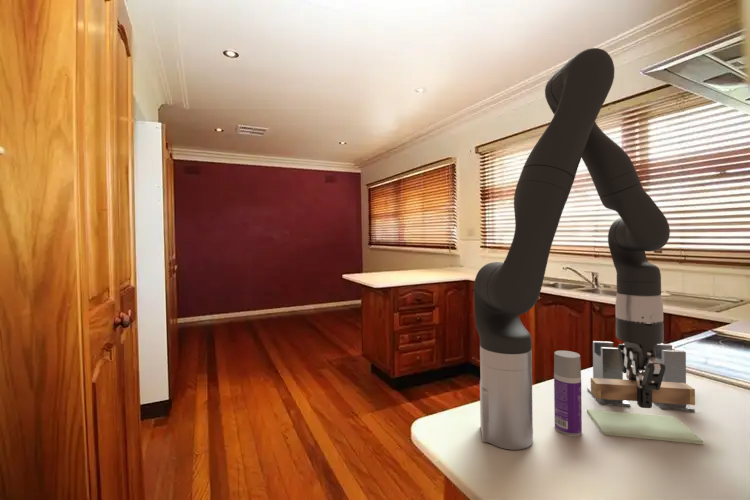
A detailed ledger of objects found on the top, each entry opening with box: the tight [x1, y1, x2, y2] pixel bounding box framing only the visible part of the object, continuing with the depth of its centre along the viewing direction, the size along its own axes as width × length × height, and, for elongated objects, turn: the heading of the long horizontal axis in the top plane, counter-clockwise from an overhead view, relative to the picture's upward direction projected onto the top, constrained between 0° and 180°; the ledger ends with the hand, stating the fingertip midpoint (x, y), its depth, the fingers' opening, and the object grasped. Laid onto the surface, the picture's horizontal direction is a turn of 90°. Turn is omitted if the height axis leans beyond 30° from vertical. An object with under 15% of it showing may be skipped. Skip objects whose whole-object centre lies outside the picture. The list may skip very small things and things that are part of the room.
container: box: [553, 350, 583, 437], centre depth 68 cm, size 5×5×15 cm
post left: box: [586, 340, 631, 408], centre depth 82 cm, size 6×8×12 cm
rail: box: [590, 377, 696, 406], centre depth 69 cm, size 17×3×3 cm, turn 76°
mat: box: [586, 409, 705, 445], centre depth 69 cm, size 16×9×1 cm, turn 76°
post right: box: [653, 343, 696, 413], centre depth 79 cm, size 6×8×12 cm
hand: (640, 402), depth 69 cm, fingers closed on rail, 3 cm apart
